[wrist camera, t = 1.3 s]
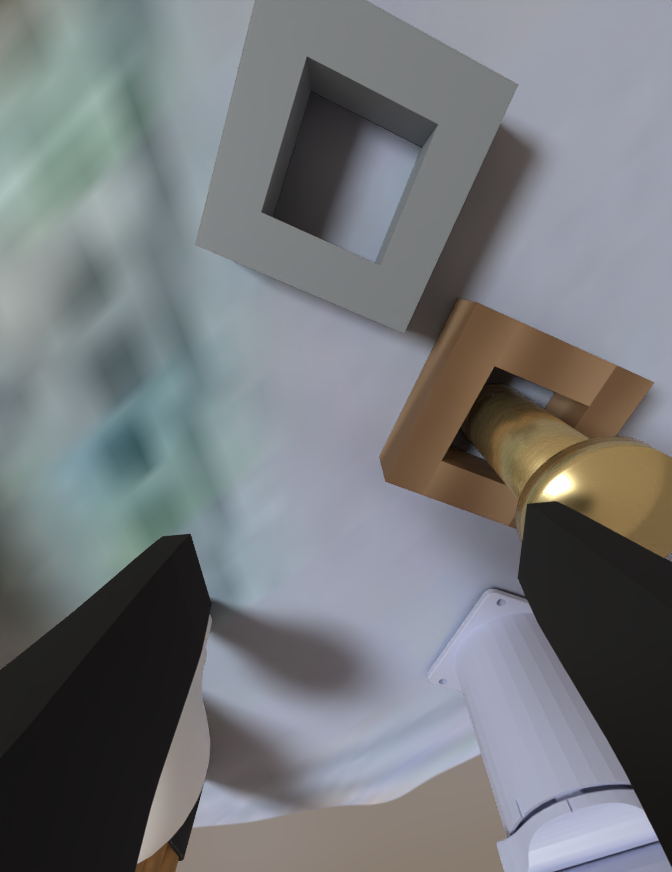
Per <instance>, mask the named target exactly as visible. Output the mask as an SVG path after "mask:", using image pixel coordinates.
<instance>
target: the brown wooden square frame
mask: <svg viewBox="0 0 672 872" xmlns="http://www.w3.org/2000/svg"><path fill="white" fill-rule="evenodd" d="M494 366H495V367H498V368H500V369H502V370H505V371H507V372H509V373H512V374H514V375H516V376H519V377H521V378H524V379H526V380H528V381H531V382H533V383H535V384H538V385H540V386H542V387H545V388H547V389H549V390H552V391H554V392H555V393H554V395H553V397H552V398H551V400H550V401H549V403H548V405H547V406H546V408H545V410H546V411H548V412H549V413H551V414H552V415H554V416H555V417H557V418H559V419H560V420H562V421H563V422H565V423H566V424H568V425H569V426H571V427H572V428H574V429H575V430H577V431H578V432H580V433H581V434H583V435H584V436H586V437H587V438H589V439H592V438H598V437H606V436H616V435H617V433H618V432H619V430H620V429H621V428H622V426H623V425H624V424H625V422H626V421H627V419H628V418H629V417H630V415H631V414H632V412H633V411H634V410H635V408H636V407H637V406H638V404H639V403H640V401H641V400H642V399H643V397H644V396H645V395H646V393H647V392H648V390H649V389H650V388H651V386H652V385H653V384H654V382H652V381H650V380H648V379H646V378H643V377H641V376H639V375H637V374H634V373H632V372H630V371H628V370H626V369H623V368H621V367H619V366H617V365H615V364H612V363H610V362H608V361H606V360H603V359H601V358H599V357H597V356H595V355H592V354H590V353H588V352H586V351H583V350H581V349H579V348H577V347H575V346H572V345H570V344H568V343H566V342H564V341H561V340H559V339H557V338H555V337H552V336H550V335H548V334H546V333H544V332H541V331H539V330H537V329H535V328H532V327H530V326H528V325H526V324H524V323H521V322H519V321H517V320H515V319H513V318H510V317H508V316H506V315H504V314H501V313H499V312H497V311H495V310H493V309H490V308H488V307H486V306H484V305H481V304H479V303H477V302H472V301H468V300H463V299H459V298H457V300H456V302H455V304H454V306H453V308H452V310H451V312H450V315H449V317H448V319H447V321H446V323H445V325H444V327H443V329H442V331H441V333H440V335H439V337H438V339H437V341H436V343H435V345H434V347H433V349H432V351H431V353H430V355H429V357H428V359H427V361H426V363H425V365H424V367H423V369H422V371H421V373H420V375H419V377H418V379H417V381H416V383H415V386H414V388H413V390H412V392H411V394H410V396H409V398H408V400H407V402H406V404H405V406H404V408H403V410H402V412H401V414H400V416H399V418H398V420H397V422H396V424H395V426H394V428H393V430H392V432H391V434H390V436H389V438H388V440H387V442H386V444H385V446H384V448H383V450H382V452H381V454H380V457H379V458H380V462H381V466H382V470H383V474H384V478H385V482H388V483H391V484H394V485H396V486H399V487H402V488H405V489H407V490H410V491H413V492H416V493H418V494H421V495H424V496H427V497H430V498H432V499H435V500H438V501H441V502H443V503H446V504H449V505H452V506H455V507H457V508H460V509H463V510H466V511H468V512H471V513H474V514H477V515H480V516H482V517H485V518H488V519H491V520H493V521H496V522H499V523H502V524H504V525H507V526H510V527H513V528H516V518H515V515H516V507H517V503H518V499H517V498H516V496H515V495H514V494H513V493H512V491H511V490H510V489H509V488H508V486H507V485H506V484H505V483H504V482H503V480H502V479H501V478H500V477H499V475H498V474H497V473H496V472H495V470H494V469H493V468H492V467H491V465H490V464H489V463H488V462H487V461H486V460H484V459H481V458H479V457H476V456H473V455H471V454H468V453H466V452H463V451H460V450H458V449H455V448H453V447H450V445H451V443H452V441H453V439H454V438H455V436H456V434H457V432H458V431H459V429H460V427H461V425H462V423H463V422H464V420H465V418H466V416H467V414H468V413H469V411H470V409H471V407H472V406H473V404H474V402H475V400H476V398H477V397H478V395H479V393H480V391H481V390H482V388H483V386H484V384H485V382H486V381H487V379H488V377H489V375H490V373H491V372H492V370H493V368H494ZM516 529H517V528H516Z"/></svg>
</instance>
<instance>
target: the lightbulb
mask: <svg viewBox="0 0 672 872" xmlns="http://www.w3.org/2000/svg"><path fill="white" fill-rule="evenodd" d="M211 624H212V618H211V615H209V620H208V625H207V630H206V635H205V640H204V644H203V649H202V653H201V656H200V659H199V662H198V666H197V669H196V672H195V675H194V678H193V681H192V684H191V687H190V690H189V693H188V696H187V699H186V702H185V705H184V708H183V711H182V714H181V717H180V720H179V723H178V726H177V729H176V732H175V735H174V737H173V740H172V743H171V746H170V749H169V752H168V755H167V758H166V761H165V764H164V767H163V770H162V773H161V776H160V779H159V783H158V786H157V789H156V793H155V796H154V800H153V803H152V806H151V810H150V814H149V818H148V822H147V826H146V830H145V834H144V838H143V842H142V846H141V850H140V854H139V858H138V862H137V864H138V863H140V862H142V861H143V860H145V859H147V858H149V857H151V856H152V855H153V854H154V853H155V852H157V851H158V850H159V849H160V848H161V847H162V846H163V845H164V844H165V843H167V842H168V841H169V840H170V839H171V838H172V837H173V835H174V834H175V833H176V832H177V831H178V830H179V828H180V827H181V826H182V825H183V823H184V822H185V820H186V819H187V817H188V815H189V813H190V812H191V810H192V808H193V807H194V805H195V803H196V801H197V799H198V797H199V795H200V792H201V790H202V788H203V785H204V781H205V777H206V773H207V769H208V765H209V758H210V735H209V728H208V722H207V715H206V711H205V707H204V703H203V699H202V675H203V669H204V665H205V661H206V656H207V652H206V647H205V646H206V643H207V640H208V636H209V633H210V628H211Z"/></svg>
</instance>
